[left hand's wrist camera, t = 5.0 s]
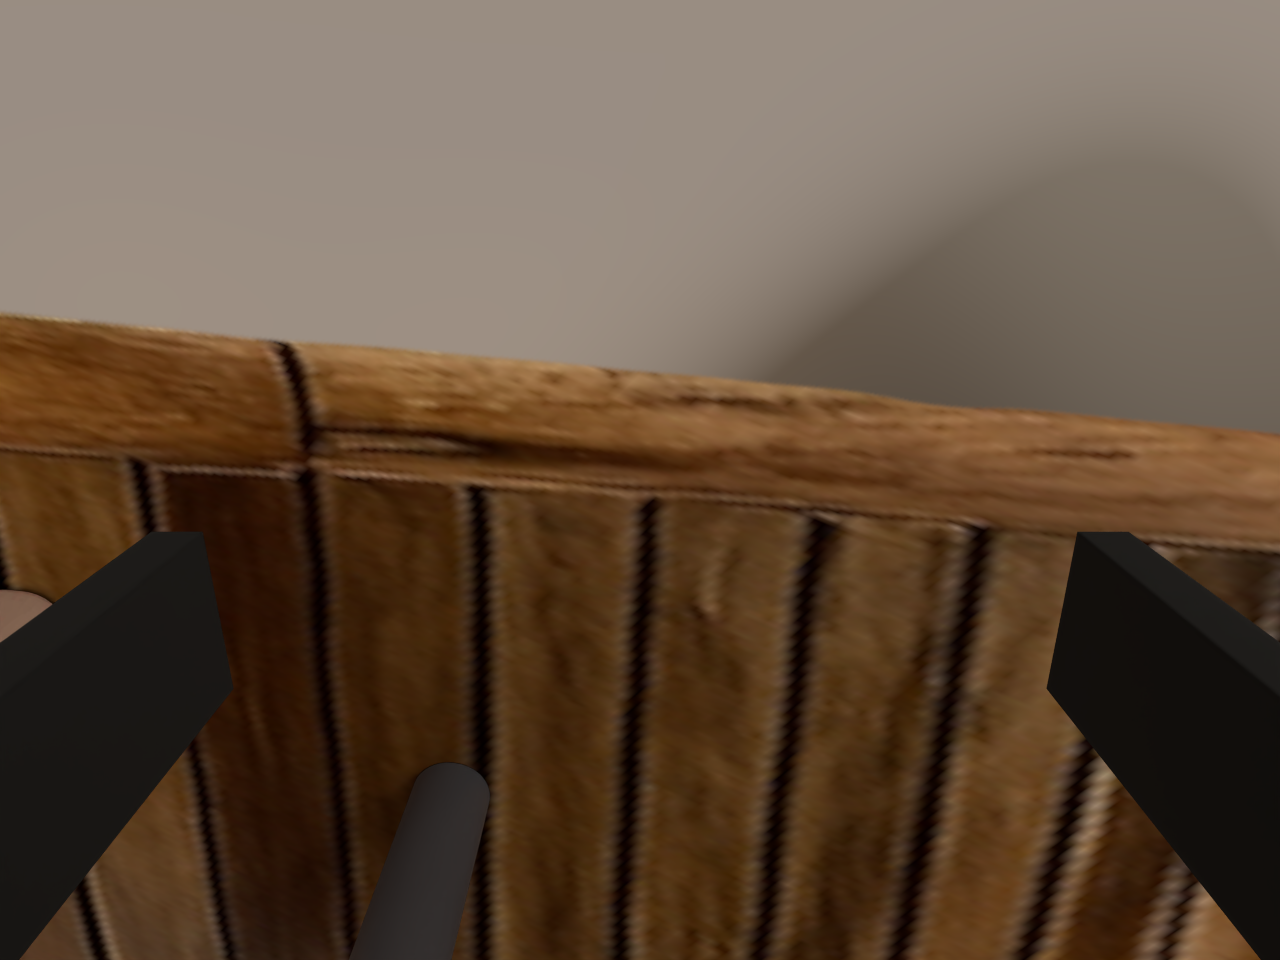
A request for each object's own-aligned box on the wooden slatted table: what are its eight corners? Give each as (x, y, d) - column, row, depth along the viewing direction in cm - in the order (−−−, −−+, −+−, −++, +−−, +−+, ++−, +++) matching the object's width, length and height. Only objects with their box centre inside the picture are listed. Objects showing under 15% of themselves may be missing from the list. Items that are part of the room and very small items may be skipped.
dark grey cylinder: (455, 749, 47) (372, 1005, 33) (505, 799, 49) (448, 1067, 34) (397, 787, 48) (292, 1053, 34) (448, 835, 50) (368, 1112, 35)
